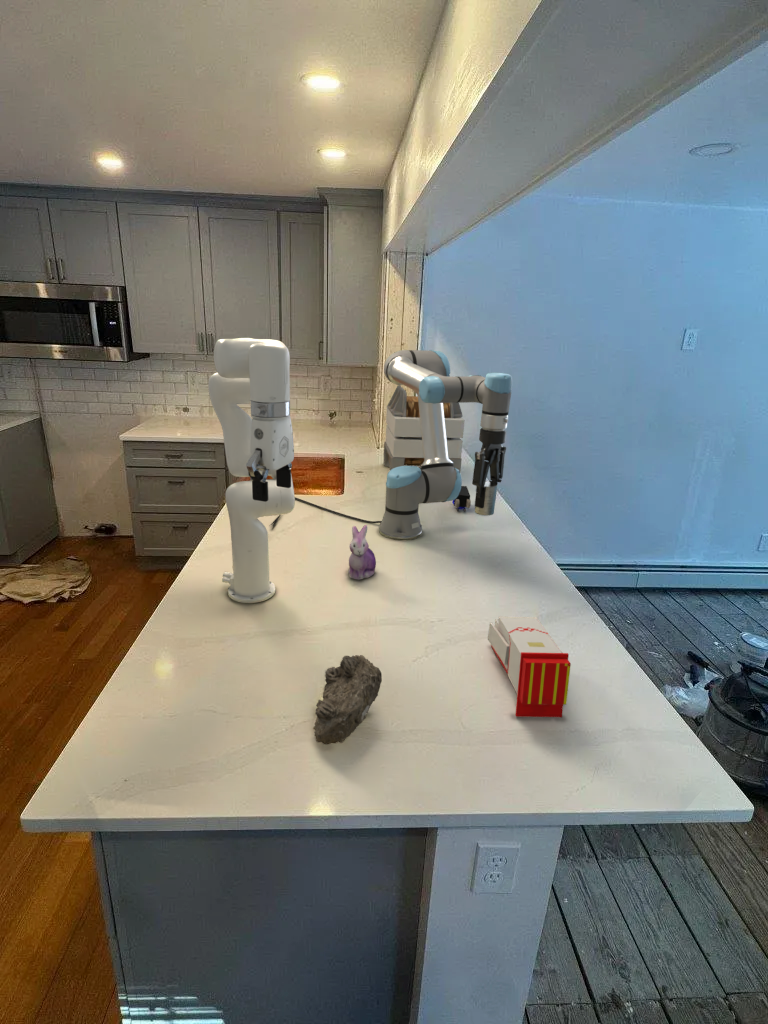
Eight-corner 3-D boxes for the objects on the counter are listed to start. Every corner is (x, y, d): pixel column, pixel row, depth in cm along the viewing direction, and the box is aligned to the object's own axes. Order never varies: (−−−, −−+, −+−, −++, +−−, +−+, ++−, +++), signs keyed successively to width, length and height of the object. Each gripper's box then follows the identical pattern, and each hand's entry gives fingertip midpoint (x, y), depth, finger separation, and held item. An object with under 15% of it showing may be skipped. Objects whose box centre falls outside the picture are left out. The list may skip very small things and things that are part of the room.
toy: (534, 602, 136) (579, 659, 107) (529, 653, 139) (572, 723, 110) (484, 601, 136) (516, 658, 107) (480, 652, 139) (510, 722, 109)
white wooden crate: (382, 463, 289) (386, 382, 275) (445, 464, 293) (451, 384, 279) (390, 482, 257) (394, 392, 243) (460, 483, 261) (468, 394, 247)
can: (484, 507, 175) (487, 480, 172) (497, 513, 171) (501, 485, 168) (470, 511, 172) (473, 482, 169) (484, 516, 168) (487, 487, 165)
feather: (288, 507, 224) (291, 503, 223) (271, 531, 197) (274, 527, 197) (285, 505, 224) (287, 501, 223) (267, 528, 197) (269, 524, 197)
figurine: (354, 583, 162) (355, 534, 157) (340, 569, 171) (341, 522, 166) (383, 577, 167) (385, 530, 161) (368, 563, 175) (369, 518, 170)
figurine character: (470, 516, 223) (465, 500, 237) (473, 499, 220) (467, 484, 233) (453, 516, 223) (449, 500, 236) (455, 498, 220) (451, 483, 233)
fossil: (318, 656, 121) (374, 625, 116) (346, 686, 123) (402, 656, 118) (294, 738, 101) (359, 705, 96) (328, 771, 104) (393, 740, 99)
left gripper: (265, 418, 101) (268, 509, 107) (307, 405, 117) (307, 484, 122) (228, 414, 103) (233, 503, 109) (274, 401, 119) (276, 480, 125)
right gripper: (487, 435, 154) (478, 515, 162) (521, 426, 167) (511, 501, 175) (464, 430, 158) (456, 508, 166) (499, 422, 172) (490, 495, 180)
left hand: (272, 493), depth 116 cm, fingers open, 9 cm apart
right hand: (485, 504), depth 171 cm, fingers closed on can, 6 cm apart
